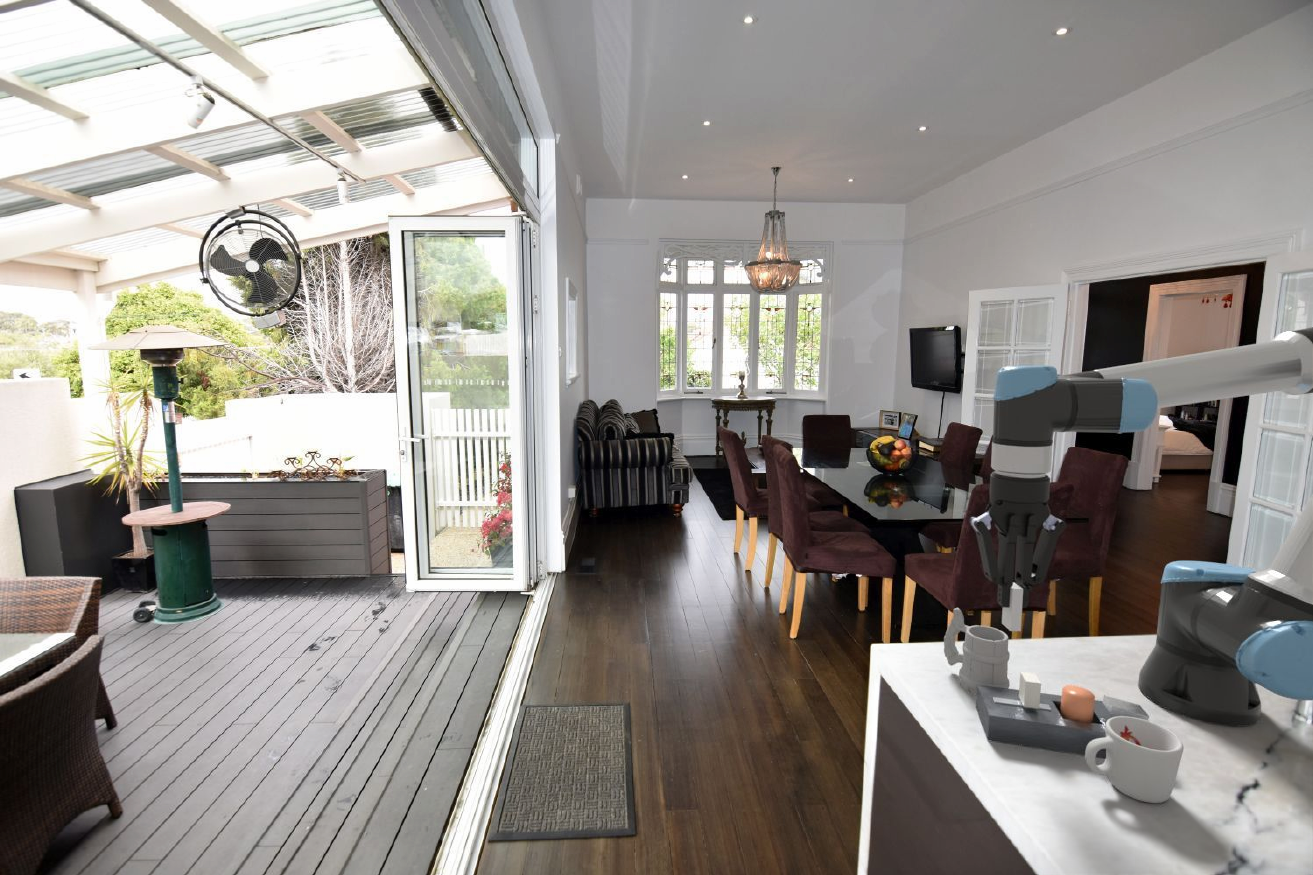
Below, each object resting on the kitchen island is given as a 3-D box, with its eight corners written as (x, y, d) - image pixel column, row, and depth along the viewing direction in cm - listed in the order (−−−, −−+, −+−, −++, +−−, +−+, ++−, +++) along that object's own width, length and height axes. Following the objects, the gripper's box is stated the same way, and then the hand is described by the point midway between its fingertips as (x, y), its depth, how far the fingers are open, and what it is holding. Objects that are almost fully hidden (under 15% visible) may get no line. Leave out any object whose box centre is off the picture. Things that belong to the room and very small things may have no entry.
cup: (1104, 810, 78) (1109, 751, 77) (1065, 768, 85) (1070, 714, 84) (1194, 812, 77) (1200, 753, 76) (1146, 770, 85) (1152, 715, 84)
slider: (1033, 697, 95) (1035, 673, 94) (1039, 708, 92) (1041, 683, 91) (1018, 696, 95) (1020, 671, 95) (1023, 706, 92) (1025, 681, 92)
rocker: (1137, 711, 91) (1139, 705, 91) (1147, 723, 88) (1149, 716, 88) (1102, 701, 92) (1104, 695, 92) (1110, 713, 89) (1112, 706, 89)
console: (1128, 729, 94) (1131, 700, 93) (1156, 766, 86) (1160, 735, 85) (975, 707, 100) (977, 680, 100) (987, 740, 92) (989, 710, 91)
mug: (989, 704, 101) (994, 634, 99) (928, 671, 112) (932, 608, 110) (1019, 693, 104) (1024, 625, 103) (957, 662, 115) (961, 600, 113)
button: (1086, 717, 93) (1089, 687, 93) (1096, 732, 89) (1099, 701, 89) (1056, 713, 94) (1058, 683, 94) (1064, 728, 91) (1067, 697, 90)
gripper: (1052, 467, 93) (1043, 617, 96) (962, 468, 94) (956, 616, 97) (1082, 477, 86) (1071, 639, 89) (984, 477, 87) (976, 637, 90)
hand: (1011, 626), depth 93 cm, fingers closed
